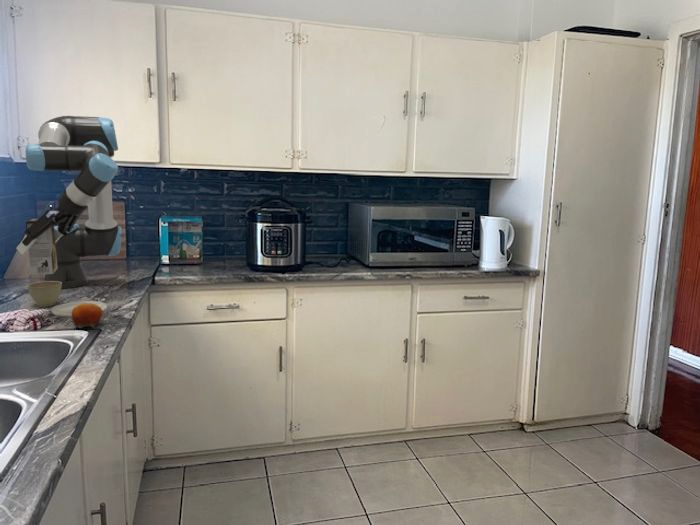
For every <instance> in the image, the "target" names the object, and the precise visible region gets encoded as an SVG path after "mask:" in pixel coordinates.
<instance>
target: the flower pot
mask: <svg viewBox="0 0 700 525" xmlns="http://www.w3.org/2000/svg"><path fill="white" fill-rule="evenodd" d="M61 287H62V282H59V281H45V282H44V281H39V282H33V283H29V284H27V290H28V293H29V295H30V297H31V299H32V300H33V302H34V304H36V306H38V307H40V306H41V308H43V307H44V308H46V306H47V307H51V306H56V304H57V301H58V300H59V298H60V295H61V291H62V288H61Z"/></svg>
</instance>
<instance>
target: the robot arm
mask: <svg viewBox="0 0 700 525" xmlns="http://www.w3.org/2000/svg"><path fill="white" fill-rule="evenodd" d="M37 136H38V139H39V140H38V142H37V143H34V144H27V145H26V146H25V162H26V167H27V168H28V169H29V170H31V171H38V172H39V171H40V172H43V171H44V172H45V171H47V172H48V171H49V172H50V171H53V172H56V171H57V172H65V171H67V172H79V173H78V175H77V176H76V177H75V178H74V179H73V180H72V181H71V183H70V184H69V185H68V186H67V187H66V189H65V190H64V191H63V192H62V193H61V195H60V196H59V197H58V198H57V204H58V206H57V207H56V208H54V209H53V210H51V209H49V208H48V209H47V210H46V211H45V212H44V213H43V215H41V216H40V217H39V219H38V220H37V221H36V222H35V223H33V224H32V225H31V226H30V227H29V228H28V229H27V230H24V231H23V234H25V235H26V236H25V237H24V238H23V239H22V240H21V241H20V243H19V244H18V245H17V246H16V248H15V249H16V250H17V251H18V252H19V253H20V254H21V255H22V256H23V255H25V254H26V253H27V252H28V250H29V248H30V247H31V246H32V245H33V244H34V243H35V241H36V240H37V239H36V238H37V237H38V236H40V235H41V234H42V233H44V232H45V231H47V230H48V229H49V228H51V227H52V226H53V225H54V233H55V244H56V256H57V267H58V268H57V270H56V271H55V272H54V274H44V278H43V282H45V281H59V282H62V287H61V289H71V288H79V287H82V286H86V285H87V284H88V282H89V281H88V277H87V274H86V272H85V269H84V267H83V264H82V258H95V257H96V258H97V257H99V258H100V257H114V256H117V255H119V254H120V252H121V246H122V235H123V234H122V232H123V230H122V226H119V225H118V221H116V220H115V219H114V212H113V196H112V195H113V191H112V188H113V187H112V180H113V179H114V178H115V176H116V175H117V173H118V172H119V166H118V164H117V162H116V161H115V160H114V159H113V157H114V156H115V152H117V151H119V147H118V142H117V135H116V130H115V126H114V122H113V120H112V119H111V118H108V117H100V116H81V115H80V116H76V115H75V116H74V115H62V116H57V117H54V118H51V119H49V120H47V121H45V122H43V123H42V125H41V126H40V127H39V129H38V133H37ZM86 210H88V220H86V221H85V222H84V227H80V225H79V224H78V223H76V222H77V221H78V219H79V218H80V216H81V215H82V214H83V213H84V212H85V211H86Z"/></svg>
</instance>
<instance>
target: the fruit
mask: <svg viewBox="0 0 700 525" xmlns="http://www.w3.org/2000/svg"><path fill="white" fill-rule="evenodd" d="M102 316H103V312H102V309H101V308H100V307H99V306H98V305H96V304H92V303H83V304H80V305H78V306H76V307H74V308H73V310H72V317H71V318H72V319H71V320H72V322H73V323H74V325H75V327H76V328H79V329H82V328H87V327H88V328H89V327H91V328H93V329H95V326H97V325H98V324H99V323H100V321H101V319H102Z"/></svg>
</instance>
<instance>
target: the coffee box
mask: <svg viewBox="0 0 700 525" xmlns="http://www.w3.org/2000/svg"><path fill="white" fill-rule="evenodd" d="M39 218H40V217H39ZM39 218H38V217H36V218H35V217H33V218H30V219H28V220H26V221H25V227H26V230H27V229H28V228H29V227H30V226H31V225H32V224H33V223H35V222H36V221H37V220H38V219H39ZM54 227H55V226H54V225H53V226H52V227H51V228H49V229H48V230H47V231H45V232H44V233H42V234H41V235H40V236H38V237H37V238H36V239H37V240H36V241H35V243H34V244H33V245H32V246H31V247H30V248H29V250H28V251H27V252H28V263H29V274H30V276H38V275H39V276H41V275H43V276H44V275H45V274H54V272H55V271H56V270H57V268H58V267H57V256H56V244H55V233H54ZM26 230H25V231H26Z"/></svg>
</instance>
